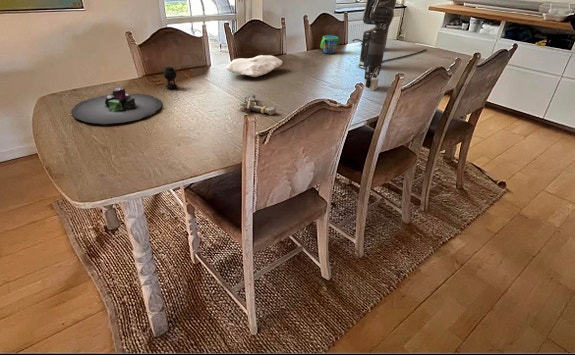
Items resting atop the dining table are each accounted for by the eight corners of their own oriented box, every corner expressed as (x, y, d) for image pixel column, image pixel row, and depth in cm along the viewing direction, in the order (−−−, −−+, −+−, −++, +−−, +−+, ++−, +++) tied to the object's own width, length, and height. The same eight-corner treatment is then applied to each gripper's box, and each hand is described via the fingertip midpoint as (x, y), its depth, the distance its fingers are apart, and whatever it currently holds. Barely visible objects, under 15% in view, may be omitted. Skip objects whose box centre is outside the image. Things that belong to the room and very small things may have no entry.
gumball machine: (165, 90, 172) (162, 69, 166) (163, 86, 176) (159, 65, 171) (180, 88, 175) (177, 67, 169) (177, 85, 179) (174, 64, 174)
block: (363, 88, 186) (364, 78, 183) (367, 86, 189) (369, 76, 186) (372, 90, 183) (374, 81, 180) (377, 88, 187) (378, 78, 184)
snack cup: (333, 49, 252) (334, 34, 247) (343, 53, 245) (344, 37, 239) (315, 52, 245) (316, 36, 239) (324, 55, 237) (326, 39, 232)
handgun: (275, 94, 165) (242, 93, 164) (275, 109, 150) (239, 108, 149) (275, 100, 167) (242, 99, 166) (275, 115, 152) (239, 114, 151)
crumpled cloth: (213, 69, 198) (213, 53, 192) (266, 60, 216) (267, 45, 210) (236, 88, 185) (236, 71, 179) (290, 76, 203) (292, 61, 197)
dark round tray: (174, 113, 149) (170, 91, 144) (79, 131, 131) (72, 107, 127) (148, 93, 173) (144, 73, 169) (65, 106, 156) (59, 85, 151)
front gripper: (376, 56, 170) (371, 91, 179) (389, 50, 180) (383, 84, 189) (362, 53, 173) (357, 87, 182) (375, 48, 183) (369, 80, 192)
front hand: (370, 85), depth 185 cm, fingers open, 5 cm apart
